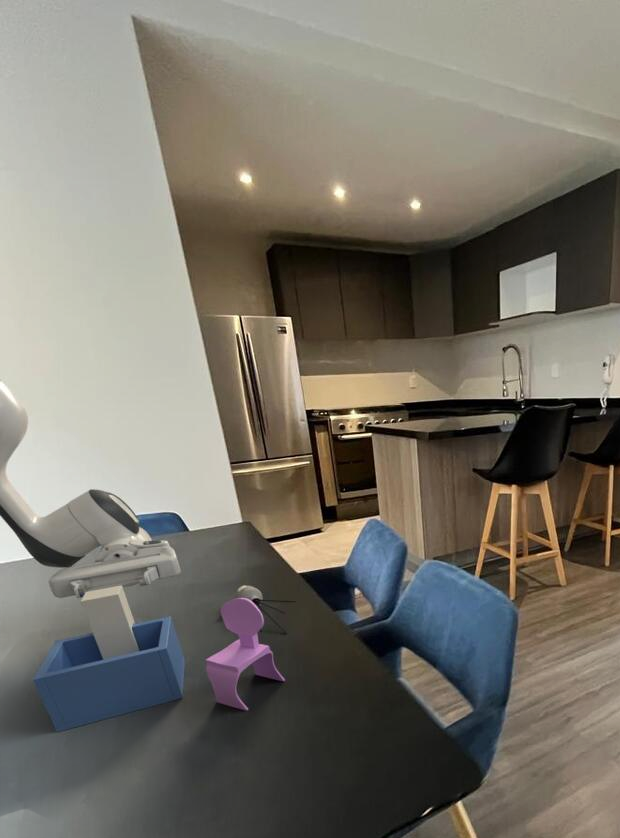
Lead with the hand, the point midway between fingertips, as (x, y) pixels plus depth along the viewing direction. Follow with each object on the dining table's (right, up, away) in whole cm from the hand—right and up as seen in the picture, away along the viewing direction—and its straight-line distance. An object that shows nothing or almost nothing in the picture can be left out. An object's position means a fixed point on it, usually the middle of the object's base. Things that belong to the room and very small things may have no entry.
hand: (112, 587), depth 85 cm
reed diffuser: (+19, -7, +16) cm, 26 cm away
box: (+6, -17, -6) cm, 19 cm away
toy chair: (+27, -17, -7) cm, 32 cm away
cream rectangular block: (+4, -11, -3) cm, 12 cm away
